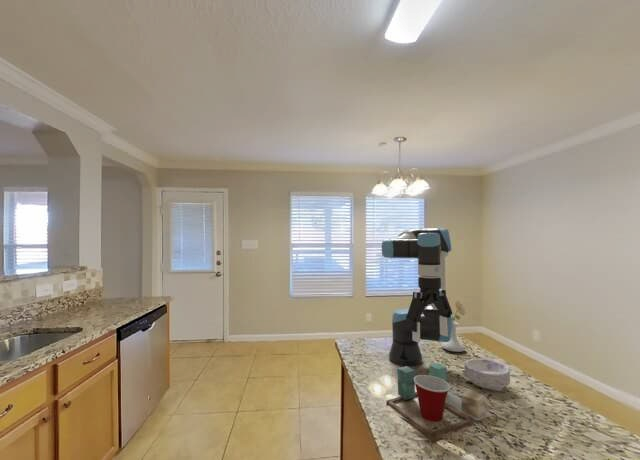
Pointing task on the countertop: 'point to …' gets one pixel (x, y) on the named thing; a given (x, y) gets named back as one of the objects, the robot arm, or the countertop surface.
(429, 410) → the plastic cup
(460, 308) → the flower in vase
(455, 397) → the sled
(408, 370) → the frame
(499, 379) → the paper bowls
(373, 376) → the countertop surface
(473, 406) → the beech cube
